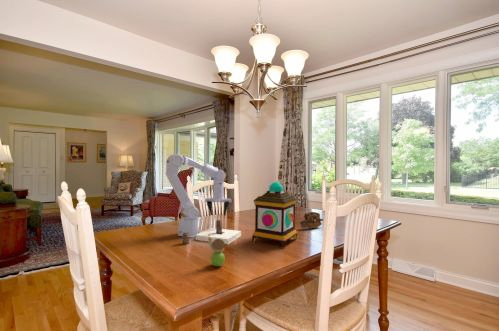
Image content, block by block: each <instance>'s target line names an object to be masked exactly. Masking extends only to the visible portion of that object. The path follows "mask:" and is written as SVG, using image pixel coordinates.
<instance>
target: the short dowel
mask: <svg viewBox="0 0 499 331" xmlns="http://www.w3.org/2000/svg"><path fill="white" fill-rule="evenodd" d="M189 244H190V237H189V233H188V232H185V233H183V236H182V245H185V246H186V245H189Z"/></svg>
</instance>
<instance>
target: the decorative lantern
mask: <svg viewBox="0 0 499 331" xmlns="http://www.w3.org/2000/svg"><path fill="white" fill-rule="evenodd" d="M297 202H298V199H297V198H296V197H294V196H293V195H290V194H289V193H287V192H286V191H285V190H284V187H283V185H282V184H281V183H280V182H279V181H278V180H277V181H273V182H271V184H270V185H269V186H268V190H266V192H265V193H263V194H262V195H260V196H259V195H258V196H257V197H256V198H255V199H253V204H254V207H255V208H254V209H255V211H254V212H255V218H254V220H255V221H254V222H255V223H254V228H255V229H254V231H253V234H252V235H251V240H252V243H256V240H257V238H258V239H264V240H269V241H273V242H274V241H275V242H280V243H281V246H282V249H284V248H285V247H286V244H287V243H286V242H288V241H289V240H290V239H292V238H293V239H294V240H295V239H296V240H297V238H298V232H297V230H296V227H295V226H296V225H295V224H296V222H295V221H296V220H295V218H296V215H295V214H296V203H297Z"/></svg>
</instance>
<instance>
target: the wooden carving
mask: <svg viewBox="0 0 499 331" xmlns="http://www.w3.org/2000/svg"><path fill="white" fill-rule="evenodd" d="M303 217H304V219H301V220H300V221H299V223H300V226H301V228H302V229H306V228H307V229H312V228H314V229H318V228H319V227H321V225H323V224H322V221H324V218H321V214H320V213H319V212H315V211H308V212H306V213H304V216H303Z"/></svg>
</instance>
